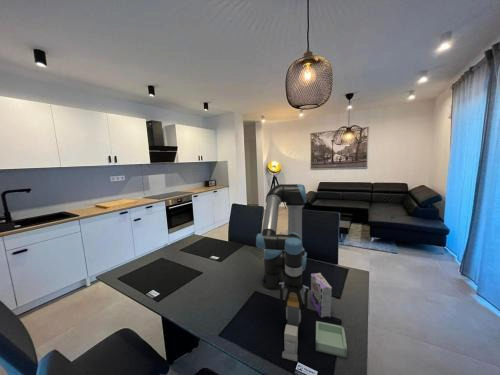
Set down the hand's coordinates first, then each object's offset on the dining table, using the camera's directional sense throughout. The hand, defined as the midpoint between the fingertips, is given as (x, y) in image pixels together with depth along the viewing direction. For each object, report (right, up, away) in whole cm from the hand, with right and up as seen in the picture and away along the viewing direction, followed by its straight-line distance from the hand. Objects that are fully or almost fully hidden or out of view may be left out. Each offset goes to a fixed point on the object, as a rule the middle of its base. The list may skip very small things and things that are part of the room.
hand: (293, 318), depth 97 cm
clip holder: (0, -7, 0) cm, 7 cm away
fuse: (0, -2, 0) cm, 2 cm away
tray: (+15, -7, -5) cm, 17 cm away
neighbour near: (-3, -8, -8) cm, 12 cm away
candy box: (+18, -4, +16) cm, 24 cm away
